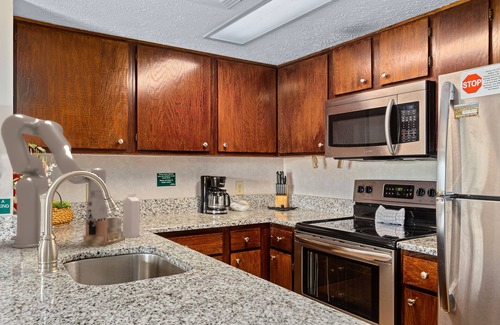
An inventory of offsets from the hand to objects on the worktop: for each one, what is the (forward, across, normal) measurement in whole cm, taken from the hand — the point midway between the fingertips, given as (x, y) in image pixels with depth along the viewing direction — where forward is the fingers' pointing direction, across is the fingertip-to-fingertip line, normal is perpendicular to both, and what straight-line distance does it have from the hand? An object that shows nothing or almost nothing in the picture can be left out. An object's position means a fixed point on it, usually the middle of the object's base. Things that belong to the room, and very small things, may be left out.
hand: (96, 233), depth 180 cm
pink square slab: (+4, 0, 0) cm, 4 cm away
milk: (+5, +24, -4) cm, 25 cm away
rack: (+5, +6, 0) cm, 8 cm away
